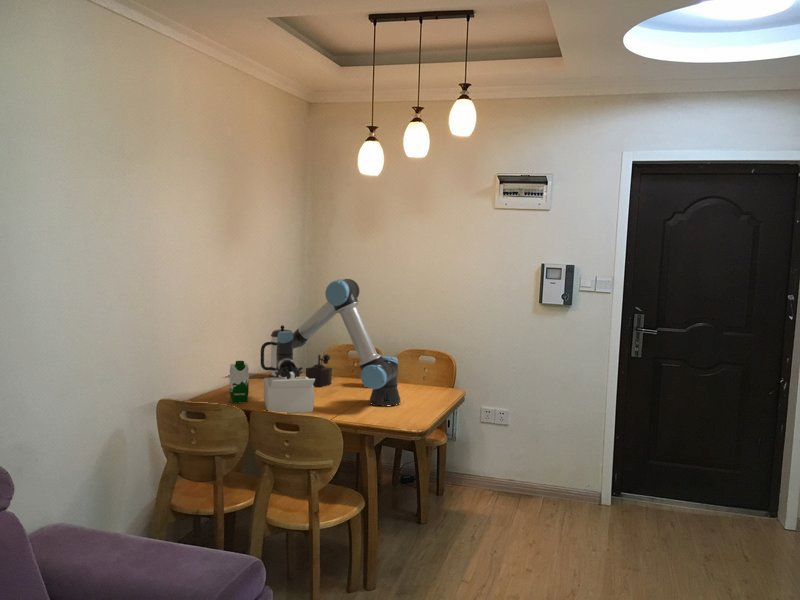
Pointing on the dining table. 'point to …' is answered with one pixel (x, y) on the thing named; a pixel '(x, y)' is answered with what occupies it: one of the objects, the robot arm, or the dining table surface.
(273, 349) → the coffee press
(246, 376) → the milk carton
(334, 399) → the dining table surface
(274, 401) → the carton
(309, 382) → the carton flap
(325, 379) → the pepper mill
